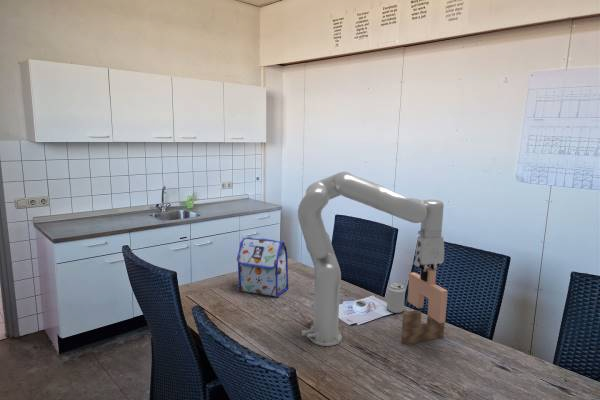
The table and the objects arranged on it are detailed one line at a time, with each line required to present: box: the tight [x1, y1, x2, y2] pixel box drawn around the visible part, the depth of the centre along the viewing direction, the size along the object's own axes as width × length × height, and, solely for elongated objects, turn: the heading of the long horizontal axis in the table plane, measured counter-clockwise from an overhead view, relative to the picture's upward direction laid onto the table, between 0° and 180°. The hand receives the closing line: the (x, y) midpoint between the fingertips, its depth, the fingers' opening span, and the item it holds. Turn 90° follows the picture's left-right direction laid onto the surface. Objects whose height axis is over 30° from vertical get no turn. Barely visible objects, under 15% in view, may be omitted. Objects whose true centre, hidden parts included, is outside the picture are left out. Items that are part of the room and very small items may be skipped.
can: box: [386, 282, 406, 314], centre depth 182 cm, size 8×8×12 cm
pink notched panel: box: [407, 266, 449, 323], centre depth 154 cm, size 20×2×17 cm, turn 19°
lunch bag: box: [236, 236, 290, 298], centre depth 200 cm, size 23×17×27 cm
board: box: [400, 309, 446, 345], centre depth 156 cm, size 18×2×12 cm, turn 109°
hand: (427, 279), depth 153 cm, fingers closed on pink notched panel, 2 cm apart
